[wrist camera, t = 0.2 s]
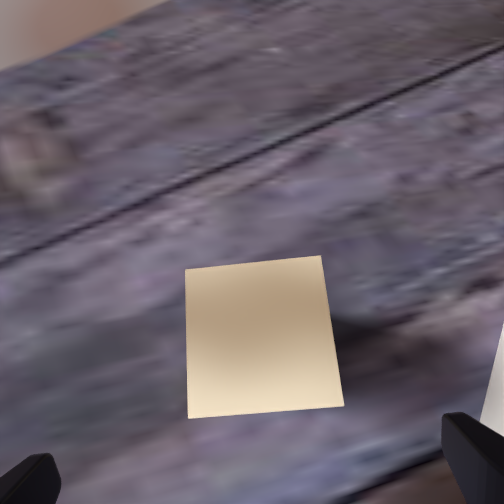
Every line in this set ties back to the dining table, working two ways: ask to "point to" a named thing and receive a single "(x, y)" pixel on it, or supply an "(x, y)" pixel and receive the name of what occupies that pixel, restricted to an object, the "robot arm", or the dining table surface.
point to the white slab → (495, 393)
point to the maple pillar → (259, 339)
